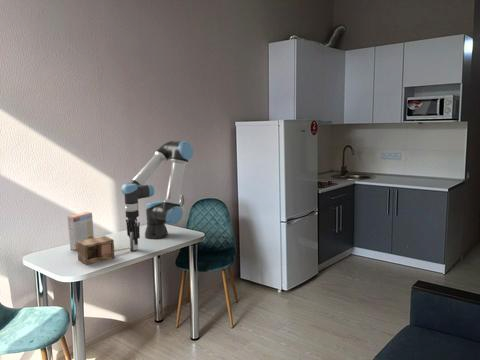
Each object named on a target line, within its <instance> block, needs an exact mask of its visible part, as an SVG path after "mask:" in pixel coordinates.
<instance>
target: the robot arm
mask: <svg viewBox="0 0 480 360" xmlns="http://www.w3.org/2000/svg"><path fill="white" fill-rule="evenodd" d="M193 156H194V147H193V146H192V144H191V143H190V142H188V141H184V140H181V141H179V140H177V141H175V140H170V141H167V142H165V143H163V144H162V145H160V146H159V147H158V148H157V150H156V151H155V152H154V155H153V156H152V158H150V160H149V161H147V163H146V164H145V165H143V167H142V168H141V169H140V170H139V171H138V172H137V173H136V175H135V176H134V177H133V178H132V179H131V180H130V182H127V183H124V184H123V185H121V193H122V195H124V208H125V218H127V219H125V222H126V234H127V236H128V238H129V239H130V232H133V250H136V251H137V250H139V240H138V239H140V238H141V237H140V236H141V235H140V233H141V231H140V222H139V221H138V217H139V216H140V213H139V200H141V199H146V198H150V197H153V196H154V195H155V187H154V186H153V185H152V184H146V183H147V182H148V181H149V180H150V179H151V178H152V176H153V175H154V174H155V173H156V172H157V171H158V169H159V168H160V167H161V166H162V165H163V164H164V163H165V164H166V162H167V161H169V160H170V162H171V169H170V173H169V179H168V182H167V183H168V184H167V189H166V195H165V199H164V200H161V201H153V202H147V204H146V205H145V206H146V207H145V208H146V209H145V215H146V228H145V231H144V238H145V239H150V240H157V239H163V238H166V236H167V237H168V236H169V232H168V229H167V226H166V224H169V225H175V224H176V225H177V224H178V223H180V222H181V220H182V219H183V215H184V211H183V208H182V207H181V205H182V204H181V202H180V197H181V192H182V185H183V180H184V173H185V168H186V165H188V164H189V160H191V159H192V158H193Z"/></svg>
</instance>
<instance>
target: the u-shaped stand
mask: <svg viewBox="0 0 480 360" xmlns="http://www.w3.org/2000/svg"><path fill="white" fill-rule="evenodd" d="M127 250H129V251H130V252H135V251H137V250H133V232H130V238H129V246H127V247H121V248H114V253H115V252H119V251H120V252H121V251H127ZM109 254H111V242H110V243H105V244H101V245H97V255H99V256H98V257H100V256H104V255H109Z"/></svg>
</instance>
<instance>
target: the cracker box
mask: <svg viewBox="0 0 480 360" xmlns="http://www.w3.org/2000/svg"><path fill="white" fill-rule="evenodd" d="M93 220H94V219H93V212H91V211H84V212H80V213H77V214H72V215H68V216H67V227H68V238H69V247H70V249H69V250H71V251H77V252H78V250H77V241H82V240H87V239H92V238H95V233H94V231H95V230H94V223H93V222H94V221H93Z"/></svg>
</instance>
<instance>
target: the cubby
mask: <svg viewBox="0 0 480 360" xmlns="http://www.w3.org/2000/svg"><path fill="white" fill-rule="evenodd" d="M105 243H111V254H109V255H104V256H99V255H97V245H101V244H105ZM114 243H115V241H114V239H113V238H110V237H108V236H106V235H103V236H97V237H94V238H92V239H87V240H82V241H77V259H78V261H79V262H81V263H82V264H84V265H85V266H87V265H91V264H96V263H100V262H103V261H108V260H112V259H115V252H114V249H115V244H114Z"/></svg>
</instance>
